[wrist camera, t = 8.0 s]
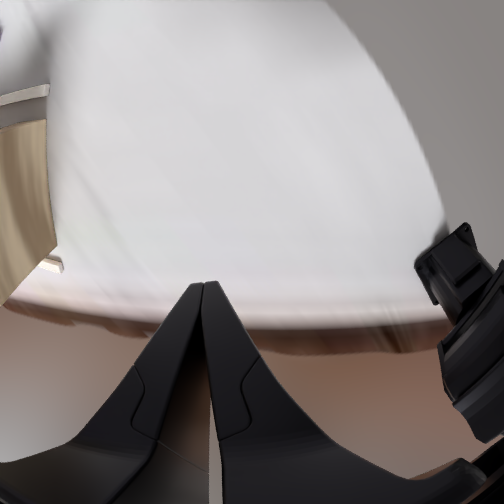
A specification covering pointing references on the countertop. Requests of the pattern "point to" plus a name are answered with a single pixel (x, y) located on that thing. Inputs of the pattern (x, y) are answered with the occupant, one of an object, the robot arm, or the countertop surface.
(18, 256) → the t block
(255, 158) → the countertop surface
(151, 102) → the countertop surface
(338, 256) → the countertop surface
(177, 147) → the countertop surface
